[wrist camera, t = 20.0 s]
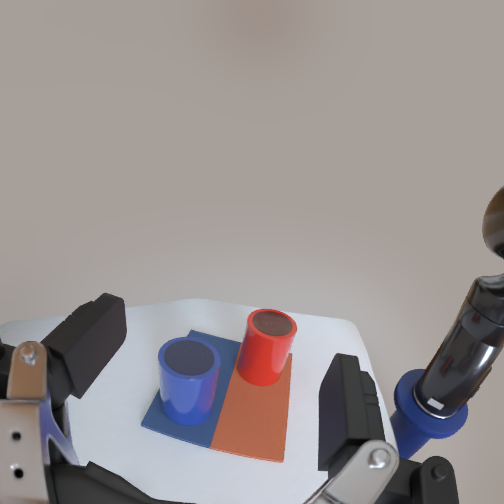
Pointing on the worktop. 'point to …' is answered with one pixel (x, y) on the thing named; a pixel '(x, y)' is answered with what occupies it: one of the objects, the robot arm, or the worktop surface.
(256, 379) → the red beaker
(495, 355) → the robot arm
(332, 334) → the worktop surface
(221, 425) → the sorting mat
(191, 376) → the blue beaker
